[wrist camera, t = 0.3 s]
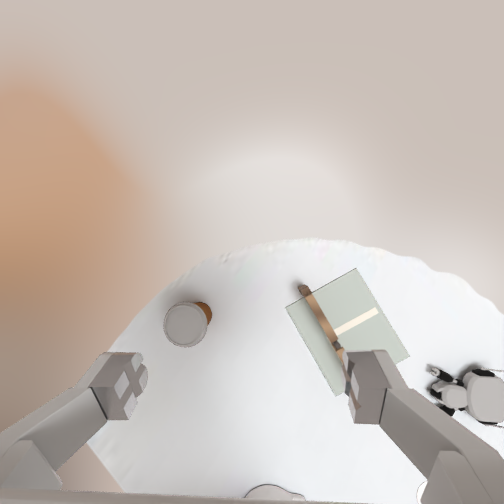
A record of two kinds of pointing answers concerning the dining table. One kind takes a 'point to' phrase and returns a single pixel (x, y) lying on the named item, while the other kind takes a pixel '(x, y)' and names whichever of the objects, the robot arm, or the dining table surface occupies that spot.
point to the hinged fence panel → (318, 313)
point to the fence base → (338, 349)
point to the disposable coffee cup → (187, 323)
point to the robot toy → (472, 395)
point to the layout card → (345, 325)
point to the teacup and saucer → (421, 491)
